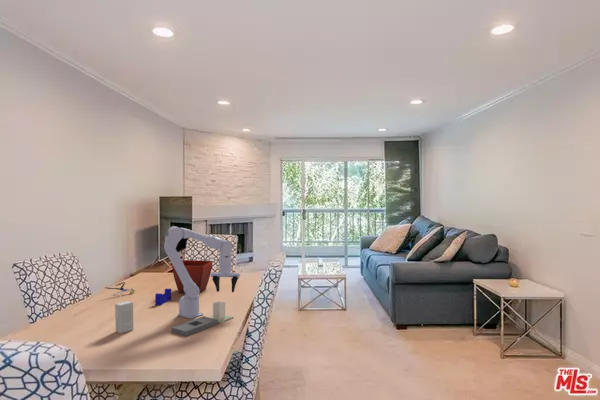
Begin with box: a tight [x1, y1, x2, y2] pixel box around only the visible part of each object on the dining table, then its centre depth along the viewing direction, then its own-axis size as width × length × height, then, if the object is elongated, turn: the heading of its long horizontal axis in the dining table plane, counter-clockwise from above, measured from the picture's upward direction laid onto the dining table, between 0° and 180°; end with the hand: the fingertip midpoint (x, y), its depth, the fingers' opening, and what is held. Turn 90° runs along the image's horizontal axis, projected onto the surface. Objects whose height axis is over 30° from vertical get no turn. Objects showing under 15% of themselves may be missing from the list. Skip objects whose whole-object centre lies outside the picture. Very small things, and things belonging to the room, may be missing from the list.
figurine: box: [104, 281, 136, 298], centre depth 224 cm, size 10×9×20 cm
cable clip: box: [154, 288, 172, 306], centre depth 211 cm, size 12×4×6 cm, turn 172°
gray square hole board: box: [171, 315, 219, 337], centre depth 170 cm, size 9×18×2 cm, turn 147°
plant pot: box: [171, 259, 214, 294], centre depth 236 cm, size 19×19×17 cm
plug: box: [212, 300, 226, 320], centre depth 183 cm, size 4×4×7 cm
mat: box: [208, 314, 235, 324], centre depth 183 cm, size 9×9×1 cm
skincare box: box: [114, 300, 134, 334], centre depth 167 cm, size 6×4×12 cm
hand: (225, 291), depth 194 cm, fingers open, 7 cm apart
